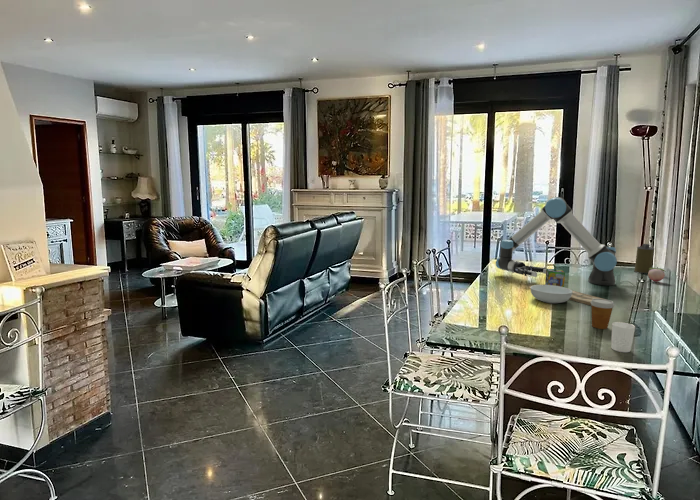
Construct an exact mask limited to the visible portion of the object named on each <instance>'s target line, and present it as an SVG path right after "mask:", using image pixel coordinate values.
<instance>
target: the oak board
mask: <svg viewBox="0 0 700 500" xmlns="http://www.w3.org/2000/svg"><path fill="white" fill-rule="evenodd" d="M572 291H573V293H572V296H571V298H570V299H569V301H573V302H577V303H580V304H584V305H587V306H591V301H592V299H604V298H602V297H599V296H594V295H591V294H587V293H584V292H580V291H576V290H572ZM605 299H606V300H608V299H607V298H605Z"/></svg>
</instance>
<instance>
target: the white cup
mask: <svg viewBox="0 0 700 500" xmlns="http://www.w3.org/2000/svg"><path fill="white" fill-rule="evenodd" d="M635 329H636V326H635V325H634V324H632V323H627V322H624V321H623V322H622V321H613V322H612V323H611V338H610V339H611V341H610V342H611V343H610V345H611V346H610V348H611V349H612V350H613V351H616V352H620V353H630V352H631V349H632V346H633V342H634V337H635Z"/></svg>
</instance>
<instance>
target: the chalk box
mask: <svg viewBox="0 0 700 500" xmlns="http://www.w3.org/2000/svg"><path fill="white" fill-rule="evenodd" d="M565 279H566V272H565V271H564V270H563V269H557V267H556V265H555V264H554V263H553V268H546V274H545V283H544V285H554V286H560V287H565V282H566V281H565Z"/></svg>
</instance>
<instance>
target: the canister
mask: <svg viewBox="0 0 700 500" xmlns="http://www.w3.org/2000/svg"><path fill="white" fill-rule="evenodd" d="M636 248H637V249H636V256H635V263H634V264H635V265H634V270H633V271H634V272H635V273H637V272H639V273H638V274H643V273H648V272H649V270H651V269H650V268H653V267H652V266H653V259H654V252H655V248H654V247H651V246H650V244H649V243H642V245H639V246H637V247H636Z"/></svg>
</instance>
